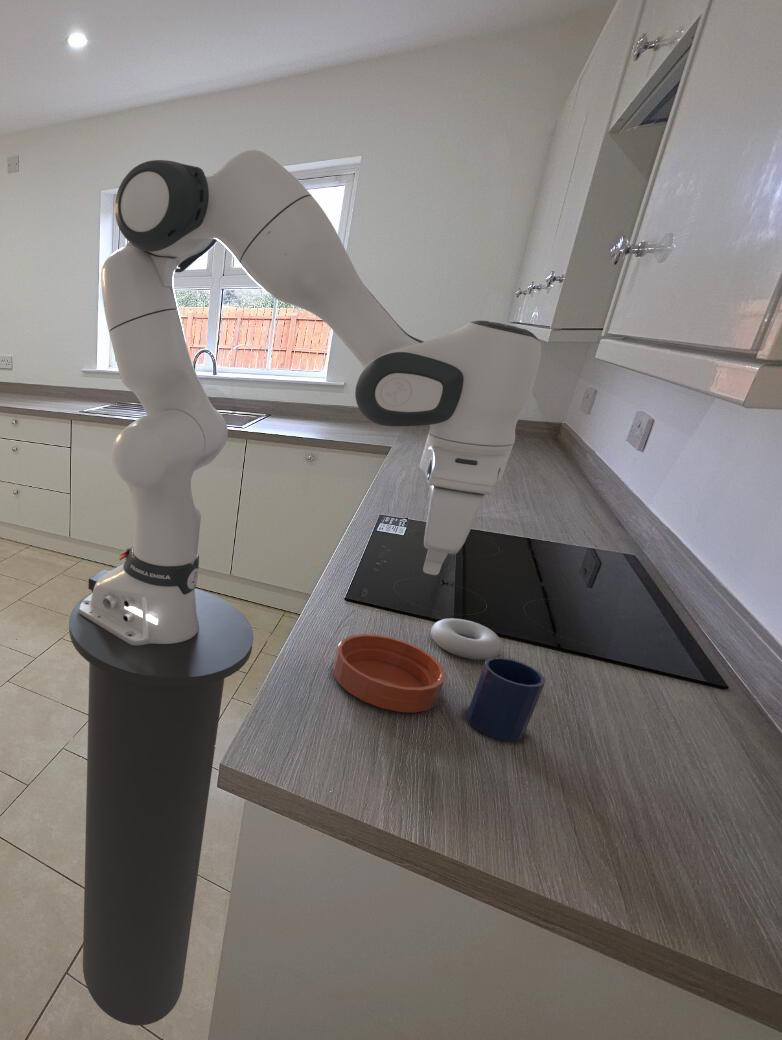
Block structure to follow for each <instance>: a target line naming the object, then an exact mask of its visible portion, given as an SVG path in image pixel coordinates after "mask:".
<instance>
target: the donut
mask: <svg viewBox="0 0 782 1040" xmlns="http://www.w3.org/2000/svg"><path fill="white" fill-rule="evenodd" d="M430 630H431V631H430V634H431V638H432V640H433V641H434V643H435V644H436V645H437V646H439V647H440V648H441V649H442V650H444V651H446V652H447V653H450V654H452V655H455V656H457V657H460V658H465V659H468V660H474V661H486V660H487V659H489V658H495V657H498V656H499V655H500V653H501V651H502V650H503V644H502V640H501V638H500V637H499V636H498V634H497V633H496V632H494V631H493V630H492V629H490V628H489V627H486V626H485V625H482V624H481V623H478V622H474V621H472V620H467V619H462V618H454V617H451V618H443V619H441V620H438V621H436V622H435V623H434V624H433V625H432V627H431V629H430Z"/></svg>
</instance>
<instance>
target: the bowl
mask: <svg viewBox="0 0 782 1040" xmlns="http://www.w3.org/2000/svg"><path fill="white" fill-rule="evenodd" d="M335 651H336V652H335V655H334V659H333V665H332V673H333V677H334V678H335V680H336V681H337V683H338V684H339V685H340V686H341V687H342V688H343V689H344V690H346V691H347V693H348V694H351V695H353V696H354V697H356V698H358V699H359V700H361V701H362V702H365V703H366V704H370V705H373V706H374V707H376V708H381V709H384V710H389V711H394V712H397V713H419V712H424V711H428V710H430V709H431V708H433V707H435V706H436V705H437V704H438V701H439V697H440V694H441V691H442V688H443V685H444V682H445V679H446V676H447V675H446V673H445V669H444V667H443V665H442V664H441V663H440V661H438V660H437V659H436V657H434V656H433V655H432V654H430V653H428V652H427V651H425V650H424V649H422V648H421V647H418V646H416V645H414V644H411V643H409V642H408V641H404V640H401V639H398V638H395V637H391V636H387V635H386V636H385V635H380V634H371V633H369V634H366V633H361V634H354V635H350V636H348V637H345V638H343V639H342V640H341V641H340V642H339V644H338V645H337V647H336V650H335Z"/></svg>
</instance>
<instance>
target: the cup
mask: <svg viewBox="0 0 782 1040" xmlns="http://www.w3.org/2000/svg"><path fill="white" fill-rule="evenodd" d="M545 683H546V678H545V677H544V675H543V674H542V672H540V671H538V670H537V669H536V668H534V667H533V666H531V665H528V664H526V663H524V662H522V661H518V660H515V659H512V658H507V657H498V656H496V657H494V658H489V659H487V660H484V663H483V667H482V670H481V672H480V674H479V678H478V681H477V684H476V686H475V690H474V692H473V695H472V698H471V700H470V704H469V706H468V708H467V713H466V720H467V722H468V723H469V725H471V726H472V727H473V728H474V730H477V731H478V732H479V733H481V734H483V735H485V736H487V737H489V738H492V739H494V740H498V741H501V742H502V741H503V742H518V741H520V740H521V739H523V736H524V735H525V734H526V730H527V728H528V725H529V723H530V720H531V719H532V716H533V713H534V711H535V709H536V706H537V703H538V701H539V699H540V696H541V693H542V692H543V689H544V687H545Z"/></svg>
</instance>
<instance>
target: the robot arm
mask: <svg viewBox="0 0 782 1040" xmlns="http://www.w3.org/2000/svg"><path fill="white" fill-rule="evenodd" d="M114 217H115V221H116V224H117V226H118V229H119V231H120V233H121V234H122V235H123V237H124V238H125V239H126V241H128V242H127V243H126V244H125V246H122V247H120V248H118V249H117V250H115V251H114V252H113V253H111V254H110V255H109V256H108V257H107V259H105V261H104V262H103V265H102V267H101V272H100V283H101V294H102V304H103V310H104V311H103V312H104V317H105V320H106V327H107V329H108V330H107V331H108V334H109V338H110V342H111V346H112V351H113V353H114V357H115V362H116V366H117V370H118V374H119V377H120V378H119V379H121V382H122V384H123V385H124V386H125V387H126V388H127V389H129V390H130V391H131V392H132V393H133V394H134V395H135V397H136V398H137V399H138V401H139V403H140V405H141V406H142V408H143V410H144V412H145V414H146V415H144V416H140V417H138V418H137V419H136V420H134V421H133V422H131V423H129V425H127V426H126V427H125V428H124V429H122V430H121V431H120V432H119V433H118V434H117V436H116V437H115V439H114V441H113V444H112V447H111V459H112V464H113V467H114V469H115V472H116V473H117V475H118V476H119V478H120V479H121V480H122V481H123V482H125V484H127V486H128V489H129V493H130V496H131V499H132V506H133V542H132V544H133V545H131V546H129V547H127V548H125V550H124V551H123V552H121V553H119V556H120V557H119V561H122V560H124V559H125V560H124V563H122V564H120V565H119V566H117V567H115V568H112V569H111V570H107V569H102V570H100V571H98V572H97V573H96V574H94V575H92V576H90V577H89V578H88V587H87V588H88V590H91V593H92V594H91V593H90V594H91V595H89V594H88V595H89V596H88V597H87V598H85V599H84V600H83V602H82V603H81V605H80V609H79V613H80V614H81V615H83V616H84V617H86V618H88V619H89V620H91V621H93V622H94V623H96V624H97V625H99V626H101V627H102V628H104V629H106V630H107V631H109V632H110V633H112V634H114V635H115V636H117V637H119V638H120V639H122V640H124V641H125V642H127V643H128V644H130V645H134V646H138V645H145V644H174V643H179V642H183V641H186V640H188V639H190V638H192V637H193V636H195V635H196V633H197V632H198V630H199V623H198V619H197V613H196V604H195V588H196V587H197V583H198V578H199V567H200V566H199V565H200V555H199V553H198V549H199V539H200V529H201V519H202V515H201V511H200V509H199V508H198V506H197V505H196V504H195V502H194V497H193V491H192V478H193V474H194V472H196V471H198V470H201V469H202V468H204V467H206V466H207V465H209V464H210V463H212V462H213V461H214V460H215V459H216V458H217V457H218V455H220V453H221V452H222V450H223V449H224V448H225V446H226V444H227V440H228V435H229V432H228V425H227V421H226V420H225V418H224V416H223V415H222V414H221V412H220V411H218V410H217V409H216V408H215V406H213V404H212V402H211V401H210V399H209V396H208V395H207V393H206V391H205V389H204V386H203V384H202V383H201V380H200V379H199V376H198V374H197V372H196V369H195V367H194V365H193V362H192V358H191V356H190V352H189V347H188V344H187V340H186V335H185V331H184V327H183V324H182V323H183V322H182V320H181V319H182V318H181V315H180V311H179V307H178V302H177V298H176V294H175V289H174V288H175V287H174V274H175V273H182V272H184V271H185V270H186V269H188V268H189V267H190V266H191V265H193V264H194V263H195V262H196V261H197V260H199V259H200V258H201V257H203V256H204V255H206V254H207V253H209V252H210V251H211V250H212V249H213V248H214V246H216V244H217V243H218V242H220V243H221V244H222V245H223V246H224V247H225V248H226V249H227V250H228V251H229V252H230V254H231V255H232V256H233V258H235V260H236V261H237V262H238V264H239V265H240V267H241V268H242V269H243V270H244V272H245V273H246V274H247V275H248V276H249V277H250V278H251V280H253V281H254V282H255V283H256V284H257V285H258V286H259V287H260V288H261V289H262V290H263V291H265V292H266V293H267V294H268V295H270V296H271V297H272V298H274V299H275V300H278V301H280V302H282V303H286V304H288V305H291V306H294V307H297V308H300V309H302V310H304V311H307V312H309V313H310V314H313V315H315V316H316V317H318V318H319V319H321V320H322V321H323V322H324V323H325V324H326V325H327V326H329V328H330V329H331V330H332V331H333V332H334V334H336V336H337V337H338V338H339V339H340V340H341V341H342V343H344V345H345V346H346V347H347V348H348V349H349V351H350V352H351V353H352V355H354V357H355V358H356V359H357V360H358V361H359V363H360V364H361V365H362V367H363V370H362V371H361V373H360V374H359V377H358V379H357V382H356V384H355V390H354V391H355V392H354V395H355V402H356V405H357V407H358V409H359V411H360V413H361V414H362V415H363V417H365V418H366V419H367V420H369V421H371V422H372V423H375V424H376V425H380V426H384V427H388V428H389V427H390V428H400V427H401V428H402V427H418V426H419V427H421V426H429V431H428V433H427V437H426V441H425V445H424V448H423V452H422V455H421V459H420V462H419V464H418V467H419V469H420V470H421V471H422V472H423V473H424V475H425V476H426V483H427V485H428V486H429V494H430V495H429V501H428V502H429V503H428V511H427V516H426V524H425V530H424V537H423V546H424V548H425V549H427V552H426V556H425V560H424V563H423V567H422V571H423V573H424V574H427V575H432V576H438V575H439V574H440V571H441V569H442V566H443V563H444V561H445V560H446V558H447V556H448V555H456V554H457V555H458V553H459V552H460V551H461V549H462V548H463V546H464V544H465V543H466V540H467V539H468V536H469V534H470V532H471V530H472V529H473V528H472V527H473V525H474V523H475V521H476V519H477V517H478V515H479V513H480V511H481V508H482V505H483V503H484V499H485V497H486V495H488V496H491V495H493V493H494V491H495V488H496V485H497V483H499V482H501V480H502V478H503V476H504V473H505V470H506V467H507V464H508V462H509V459H510V456H511V453H512V450H513V448H514V444H515V442H516V426H517V424H518V421H519V419H520V418H521V415H522V414H523V413H524V412H525V410H526V409H527V407H528V404H529V401H530V399H531V396H532V393H533V390H534V386H535V383H536V379H537V375H538V373H539V368H540V362H541V357H542V343H541V342H540V340H539V338H538V337H537V336H536V335H535V334H534V333H533V332H531V330H528V329H526V328H521V327H519V326H514V325H510V324H505V323H501V322H495V321H489V320H475V321H474V320H472V321H469V322H468V323H467V324H465V325H463V326H461V327H460V328H458V329H455V330H452V331H450V332H448V333H445V334H442V335H441V336H438V337H435V338H432V339H429V340H426V341H424V340H422V339H420V338H416V337H414V336H413V335H410V334H409V333H407V332H406V331H405V330H404V329H403V328H402V327H401V326H400V325H399V324H398V323H397V321H396V320H395V319H394V318H393V317H392V316H391V314H390V313H389V312H388V311H387V310H386V309H385V308H384V306H383V305H382V304H381V303H380V302H379V301H378V300H377V298H376V297H375V295H373V293H372V292H371V291H370V290H369V289H368V288H367V286H366V285H365V283H364V282H363V280H362V279H361V277H360V275H359V274H358V272H357V270H356V268H355V266H354V264H353V262H352V260H351V258H350V257H349V254H348V252H347V250H346V248H345V246H344V244H343V242H342V240H341V238H340V236H339V235H338V232H337V230H336V229H335V227H334V225H333V224H332V222H331V220H330V219H329V217H328V215H327V214H326V212H325V211H324V209H323V208H322V206H321V205H320V204H319V203H318V201H317V200H316V199H315V198H314V197H313V195H312V194H311V193H310V191H308V189H307V188H306V187H305V186H304V184H302V183H301V182H300V180H298V179H297V178H296V177H295V176H294V175H293V174H292V173H291V172H290V171H289V170H288V169H286V168H285V167H284V166H283V165H281V164H280V163H279V162H278V161H277V160H275V159H274V158H273V157H271V156H269V155H268V154H267V153H266V152H264V151H261V150H257V149H251V150H250V149H249V150H245V151H242V152H240V153H238V154H237V155H235V156H233V157H232V158H230V159H229V160H228V161H227V162H226V163H225V164H224V165H223V166H221V168H219V170H218V171H217V172H216V173H214V174H212V175H206V174H205V172H204V170H203V169H202V168H201V167H199V166H195V165H191V164H185V163H181V162H177V161H173V160H167V159H154V160H153V159H152V160H148V161H145V162H142V163H140V164H138V165H136V166H135V167H133V168H132V169H131V170H129V171H128V173H127V174H126V175H125V176H124V178H123V179H122V181H121V183H120V184H119V187H118V190H117V192H116V196H115V201H114Z"/></svg>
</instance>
